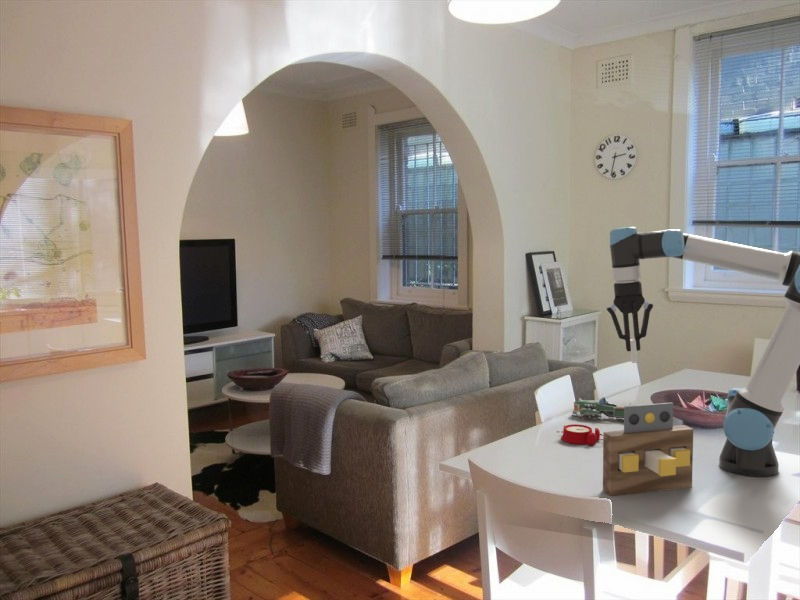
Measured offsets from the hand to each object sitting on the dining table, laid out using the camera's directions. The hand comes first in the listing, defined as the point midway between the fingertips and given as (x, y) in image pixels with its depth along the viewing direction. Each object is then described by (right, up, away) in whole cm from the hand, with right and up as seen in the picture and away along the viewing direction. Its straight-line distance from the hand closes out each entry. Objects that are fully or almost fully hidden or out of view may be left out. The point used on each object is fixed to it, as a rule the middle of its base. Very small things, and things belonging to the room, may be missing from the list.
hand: (634, 361), depth 193 cm
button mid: (-1, -26, -20) cm, 33 cm away
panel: (-2, -33, -15) cm, 36 cm away
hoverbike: (+8, -26, +52) cm, 59 cm away
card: (-2, -17, -17) cm, 24 cm away
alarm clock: (-8, -29, +27) cm, 41 cm away
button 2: (+5, -25, -14) cm, 29 cm away
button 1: (-9, -26, -17) cm, 32 cm away
